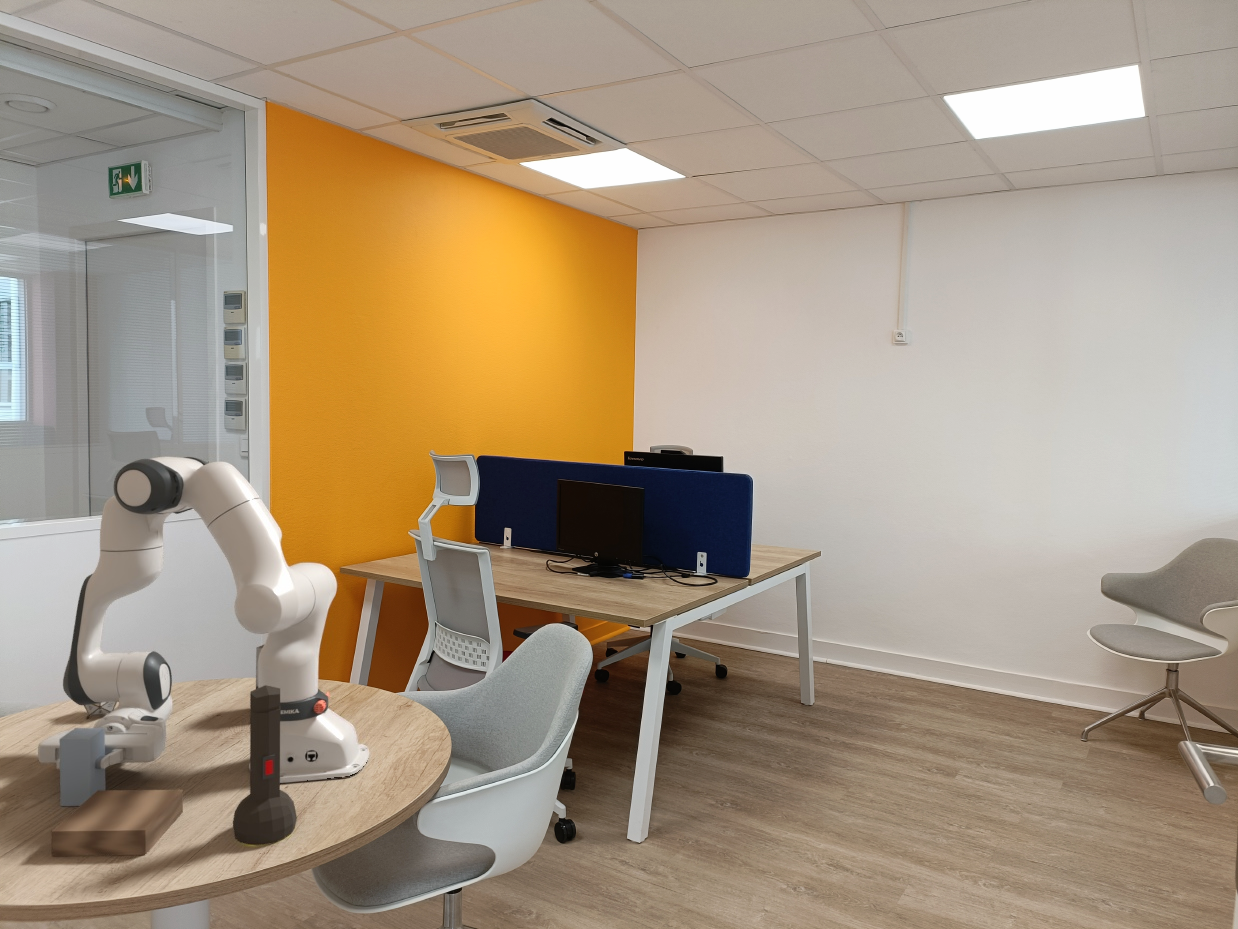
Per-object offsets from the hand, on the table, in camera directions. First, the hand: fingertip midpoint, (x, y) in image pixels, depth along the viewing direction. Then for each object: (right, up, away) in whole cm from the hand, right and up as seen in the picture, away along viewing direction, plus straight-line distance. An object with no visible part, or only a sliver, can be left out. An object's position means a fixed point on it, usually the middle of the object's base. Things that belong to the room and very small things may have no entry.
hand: (80, 765), depth 150 cm
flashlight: (+36, -9, -7) cm, 37 cm away
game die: (-21, -3, +41) cm, 46 cm away
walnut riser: (+13, -8, -9) cm, 18 cm away
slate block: (0, -7, +1) cm, 7 cm away
